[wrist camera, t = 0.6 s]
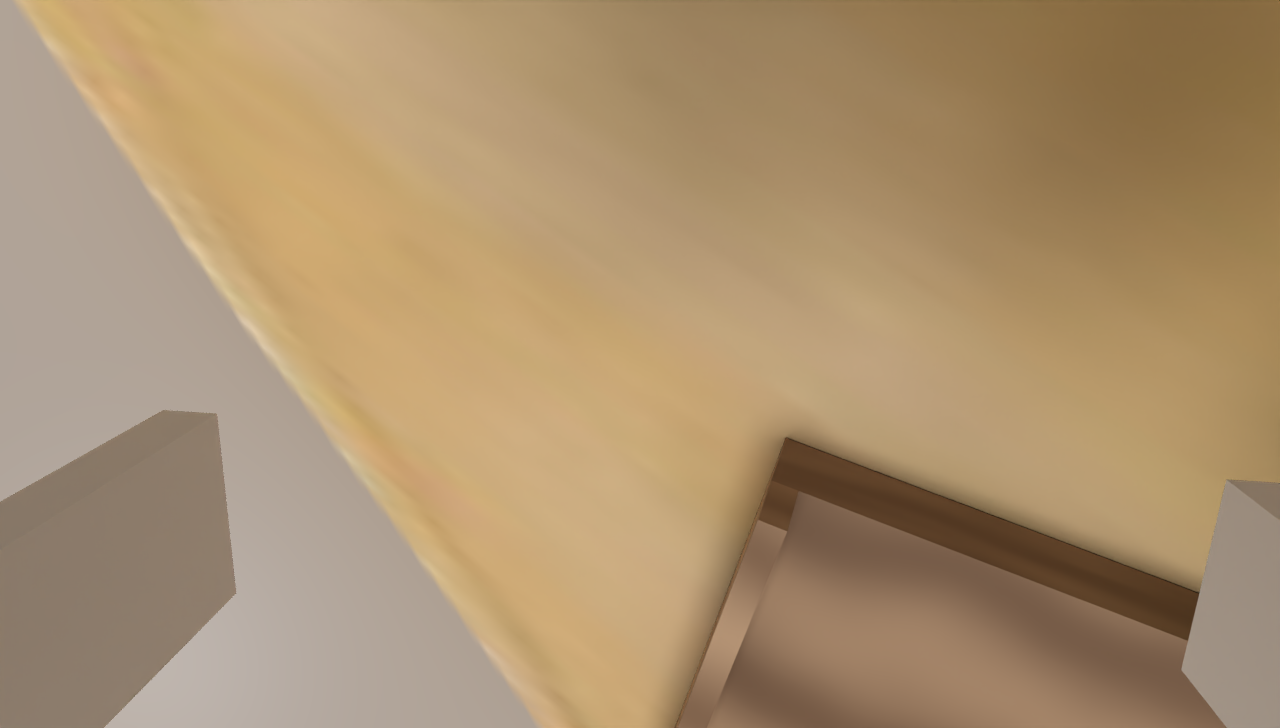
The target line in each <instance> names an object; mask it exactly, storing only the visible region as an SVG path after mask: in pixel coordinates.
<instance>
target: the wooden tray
mask: <svg viewBox="0 0 1280 728" xmlns="http://www.w3.org/2000/svg"><path fill="white" fill-rule="evenodd" d="M1198 597H1199V593H1196V592H1194V591H1191V590H1188V589H1186V588H1183V587H1180V586H1178V585H1175V584H1172V583H1170V582H1167V581H1164V580H1162V579H1159V578H1157V577H1154V576H1151V575H1149V574H1146V573H1143V572H1141V571H1138V570H1135V569H1133V568H1130V567H1127V566H1125V565H1122V564H1119V563H1117V562H1114V561H1111V560H1109V559H1106V558H1103V557H1101V556H1098V555H1095V554H1093V553H1090V552H1087V551H1085V550H1082V549H1079V548H1077V547H1074V546H1072V545H1069V544H1066V543H1064V542H1061V541H1058V540H1056V539H1053V538H1050V537H1048V536H1045V535H1042V534H1040V533H1037V532H1034V531H1032V530H1029V529H1026V528H1024V527H1021V526H1018V525H1016V524H1013V523H1010V522H1008V521H1005V520H1002V519H1000V518H997V517H994V516H992V515H989V514H987V513H984V512H981V511H979V510H976V509H973V508H971V507H968V506H965V505H963V504H960V503H957V502H955V501H952V500H949V499H947V498H944V497H941V496H939V495H936V494H933V493H931V492H928V491H925V490H923V489H920V488H917V487H915V486H912V485H909V484H907V483H904V482H902V481H899V480H896V479H894V478H891V477H888V476H886V475H883V474H880V473H878V472H875V471H872V470H870V469H867V468H864V467H862V466H859V465H856V464H854V463H851V462H848V461H846V460H843V459H840V458H838V457H835V456H832V455H830V454H827V453H824V452H822V451H819V450H817V449H814V448H811V447H809V446H806V445H803V444H801V443H798V442H795V441H793V440H790V439H787V438H786V439H785V441H784V444H783V447H782V449H781V452H780V454H779V457H778V460H777V462H776V465H775V467H774V470H773V473H772V475H771V478H770V481H769V483H768V486H767V488H766V491H765V494H764V496H763V499H762V501H761V504H760V507H759V509H758V512H757V514H756V517H755V520H754V522H753V525H752V527H751V530H750V533H749V535H748V538H747V540H746V543H745V546H744V548H743V551H742V553H741V556H740V559H739V561H738V564H737V567H736V569H735V572H734V574H733V577H732V580H731V582H730V585H729V587H728V590H727V593H726V595H725V598H724V600H723V603H722V606H721V608H720V611H719V613H718V616H717V619H716V621H715V624H714V626H713V629H712V632H711V634H710V637H709V640H708V642H707V645H706V647H705V650H704V653H703V655H702V658H701V660H700V663H699V666H698V668H697V671H696V673H695V676H694V679H693V681H692V684H691V686H690V689H689V692H688V694H687V697H686V699H685V702H684V705H683V707H682V710H681V713H680V715H679V718H678V720H677V723H676V726H675V728H1227V727H1226V726H1225V725H1224V724H1223V722H1222V721H1221V720H1220V718H1219V717H1218V716H1217V715H1216V713H1215V712H1214V711H1213V710H1212V708H1211V707H1210V706H1209V704H1208V703H1207V702H1206V701H1205V699H1204V698H1203V697H1202V696H1201V694H1200V693H1199V692H1198V690H1197V689H1196V688H1195V687H1194V685H1193V684H1192V683H1191V682H1190V680H1189V679H1188V678H1187V677H1186V675H1185V674H1184V673H1183V671H1182V670H1181V668H1182V664H1183V660H1184V656H1185V652H1186V648H1187V643H1188V639H1189V635H1190V631H1191V627H1192V622H1193V618H1194V614H1195V610H1196V606H1197V601H1198Z"/></svg>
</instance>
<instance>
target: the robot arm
mask: <svg viewBox="0 0 1280 728" xmlns="http://www.w3.org/2000/svg"><path fill="white" fill-rule="evenodd" d="M235 594H236V588H235V578H234V569H233V559H232V550H231V540H230V531H229V521H228V513H227V503H226V494H225V484H224V476H223V465H222V456H221V448H220V438H219V429H218V420H217V414H213V413H197V412H183V411H167V410H163V411H161V412H159V413H157V414H156V415H154V416H152V417H150V418H148V419H147V420H145V421H143V422H141V423H140V424H138V425H136V426H134V427H133V428H131V429H129V430H127V431H125V432H124V433H122V434H120V435H118V436H117V437H115V438H113V439H111V440H109V441H108V442H106V443H104V444H102V445H100V446H99V447H97V448H95V449H93V450H92V451H90V452H88V453H86V454H84V455H83V456H81V457H79V458H77V459H76V460H74V461H72V462H70V463H69V464H67V465H65V466H63V467H61V468H60V469H58V470H56V471H54V472H52V473H51V474H49V475H47V476H45V477H43V478H42V479H40V480H38V481H36V482H35V483H33V484H31V485H29V486H27V487H26V488H24V489H22V490H20V491H19V492H17V493H15V494H13V495H11V496H10V497H8V498H6V499H4V500H3V501H1V502H0V728H104V727H105V726H106V725H107V724H108V723H109V722H110V721H111V720H112V719H113V718H114V717H115V716H116V715H117V714H118V713H119V712H120V711H121V710H122V709H123V708H124V707H125V706H126V705H127V704H128V703H129V702H130V701H131V700H132V699H133V697H135V695H136V694H137V693H138V692H139V691H140V690H141V689H142V688H143V687H144V686H145V685H146V684H147V683H148V682H149V681H150V680H151V679H152V678H153V677H154V676H155V675H156V674H157V673H158V672H159V671H160V670H161V669H162V668H163V667H164V666H165V665H166V664H167V663H168V662H169V661H170V660H171V659H172V658H173V657H174V656H175V655H176V654H177V653H178V652H179V651H180V650H181V649H182V648H183V647H184V646H185V645H186V644H187V643H188V641H190V640H191V639H192V637H193V636H194V635H195V634H196V633H197V632H198V631H199V630H200V629H201V628H202V627H203V626H204V625H205V624H206V623H207V622H208V621H209V620H210V619H211V618H212V617H213V616H214V615H215V614H216V613H217V612H218V611H219V610H220V609H221V608H222V607H223V606H224V605H225V604H226V603H227V602H228V601H229V600H230V599H231V598H232V596H234V595H235ZM1181 670H1182V671H1183V673H1184V674H1185V675H1186V677H1187V678H1188V679H1189V680H1190V682H1191V683H1192V684H1193V685H1194V687H1195V688H1196V689H1197V690H1198V692H1199V693H1200V694H1201V696H1202V697H1203V698H1204V699H1205V701H1206V702H1207V703H1208V704H1209V706H1210V707H1211V708H1212V710H1213V711H1214V712H1215V713H1216V715H1217V716H1218V717H1219V718H1220V720H1221V721H1222V722H1223V724H1224V725H1225V726H1226V727H1227V728H1280V483H1272V482H1257V481H1241V480H1226V484H1225V488H1224V492H1223V496H1222V501H1221V505H1220V509H1219V513H1218V517H1217V522H1216V526H1215V530H1214V534H1213V538H1212V543H1211V547H1210V551H1209V555H1208V559H1207V564H1206V568H1205V572H1204V576H1203V580H1202V585H1201V589H1200V593H1199V597H1198V601H1197V606H1196V610H1195V614H1194V618H1193V622H1192V627H1191V631H1190V635H1189V639H1188V643H1187V648H1186V652H1185V656H1184V660H1183V664H1182V668H1181Z"/></svg>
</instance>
